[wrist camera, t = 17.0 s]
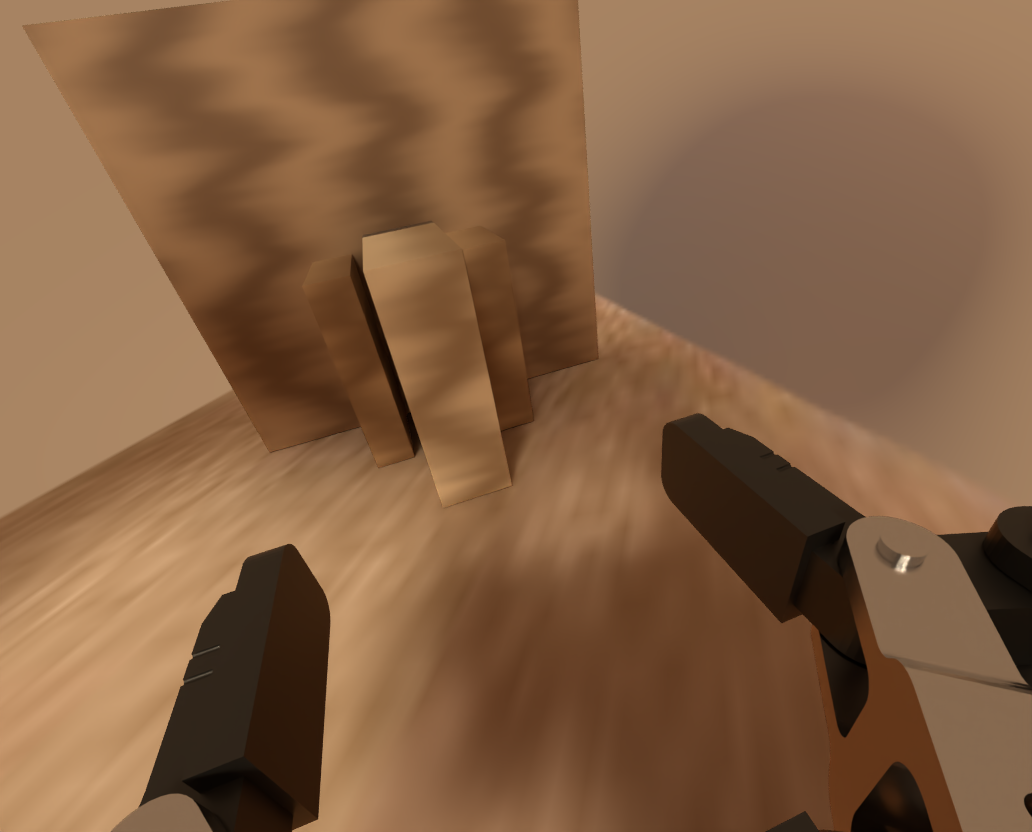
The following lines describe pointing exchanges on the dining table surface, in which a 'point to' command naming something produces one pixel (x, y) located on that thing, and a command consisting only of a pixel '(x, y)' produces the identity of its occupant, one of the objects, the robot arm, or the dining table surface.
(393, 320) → the rail end
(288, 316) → the zigzag wooden panel
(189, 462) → the dining table surface
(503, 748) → the dining table surface
